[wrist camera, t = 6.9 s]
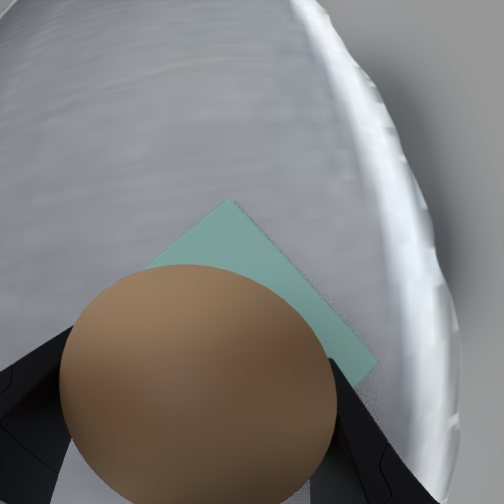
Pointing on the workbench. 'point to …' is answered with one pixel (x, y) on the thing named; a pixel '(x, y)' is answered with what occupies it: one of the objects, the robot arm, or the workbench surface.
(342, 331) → the rubber mat
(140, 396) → the walnut stool
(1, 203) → the workbench surface
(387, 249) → the workbench surface
